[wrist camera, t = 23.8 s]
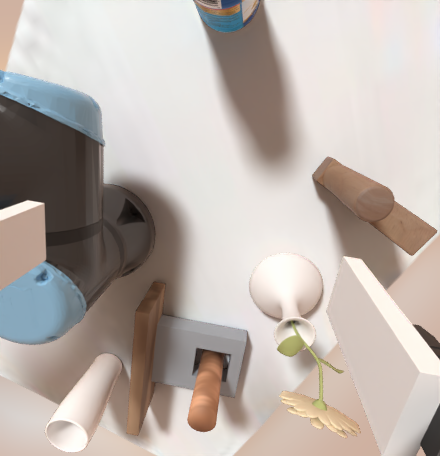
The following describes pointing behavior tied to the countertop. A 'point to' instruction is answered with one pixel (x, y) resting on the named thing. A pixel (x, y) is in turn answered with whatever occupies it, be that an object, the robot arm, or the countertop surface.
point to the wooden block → (374, 205)
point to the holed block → (187, 348)
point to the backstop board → (144, 356)
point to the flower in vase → (296, 327)
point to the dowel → (206, 391)
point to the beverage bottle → (226, 13)
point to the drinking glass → (84, 405)
